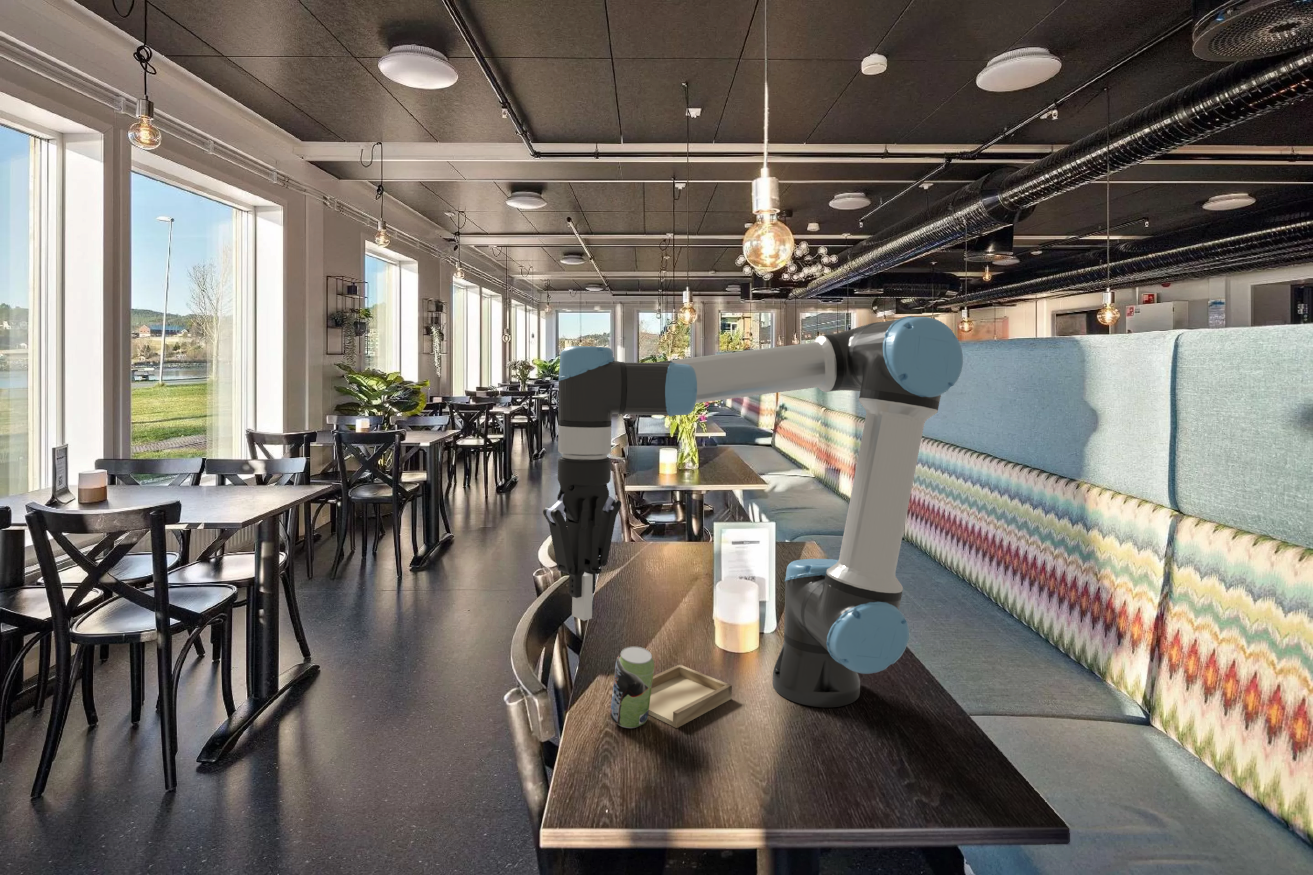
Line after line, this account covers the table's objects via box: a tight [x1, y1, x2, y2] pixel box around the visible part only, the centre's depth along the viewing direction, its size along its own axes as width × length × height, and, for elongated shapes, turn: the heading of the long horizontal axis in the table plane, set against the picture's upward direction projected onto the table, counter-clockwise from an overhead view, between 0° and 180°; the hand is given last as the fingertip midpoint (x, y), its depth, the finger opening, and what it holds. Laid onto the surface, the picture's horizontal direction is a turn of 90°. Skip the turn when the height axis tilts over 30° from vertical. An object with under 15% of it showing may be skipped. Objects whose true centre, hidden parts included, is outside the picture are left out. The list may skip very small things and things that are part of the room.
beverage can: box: [609, 645, 655, 729], centre depth 108 cm, size 6×7×12 cm
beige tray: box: [648, 664, 733, 729], centre depth 117 cm, size 12×14×2 cm
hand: (581, 616), depth 100 cm, fingers closed
